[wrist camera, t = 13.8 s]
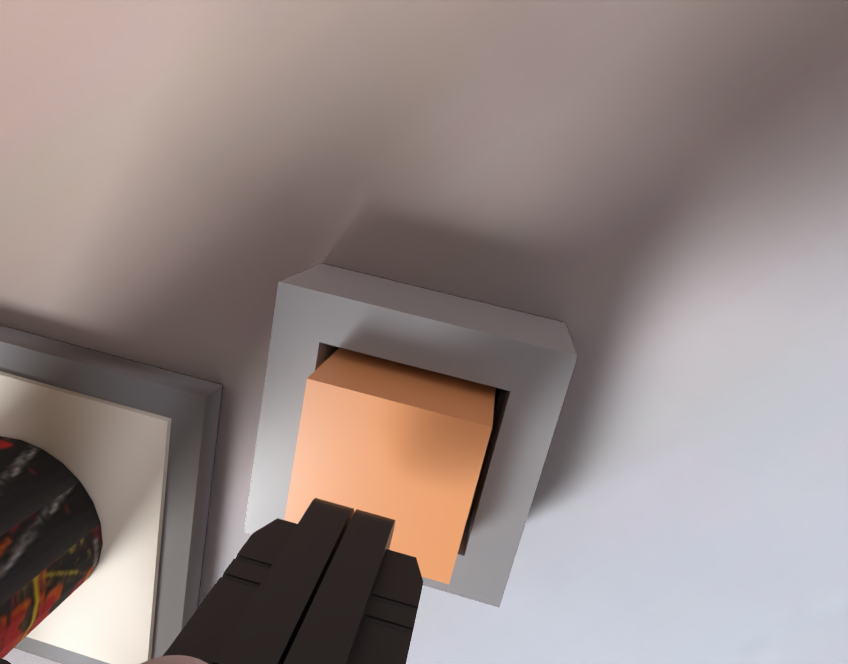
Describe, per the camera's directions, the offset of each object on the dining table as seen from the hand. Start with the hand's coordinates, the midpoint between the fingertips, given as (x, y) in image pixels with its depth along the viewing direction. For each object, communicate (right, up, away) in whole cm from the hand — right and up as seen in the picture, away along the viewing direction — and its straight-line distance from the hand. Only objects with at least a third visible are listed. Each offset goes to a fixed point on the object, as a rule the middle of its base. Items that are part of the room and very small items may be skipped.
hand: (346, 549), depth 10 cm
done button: (+1, +1, +5) cm, 5 cm away
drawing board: (-12, -2, +9) cm, 15 cm away
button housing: (+1, +2, +6) cm, 7 cm away
